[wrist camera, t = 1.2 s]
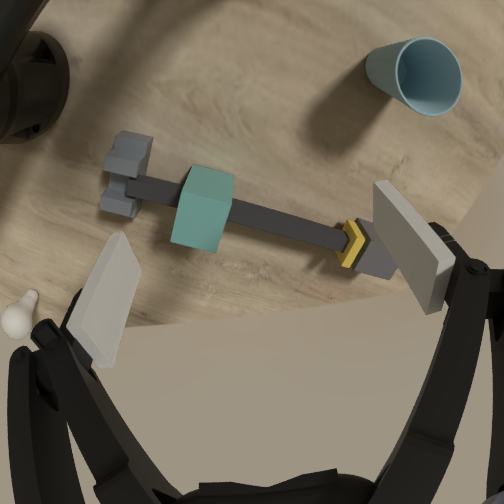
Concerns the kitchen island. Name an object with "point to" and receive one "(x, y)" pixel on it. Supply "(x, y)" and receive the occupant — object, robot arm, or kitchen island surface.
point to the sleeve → (203, 209)
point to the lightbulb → (19, 316)
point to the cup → (417, 74)
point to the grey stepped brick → (125, 172)
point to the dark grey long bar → (261, 219)
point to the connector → (373, 254)
